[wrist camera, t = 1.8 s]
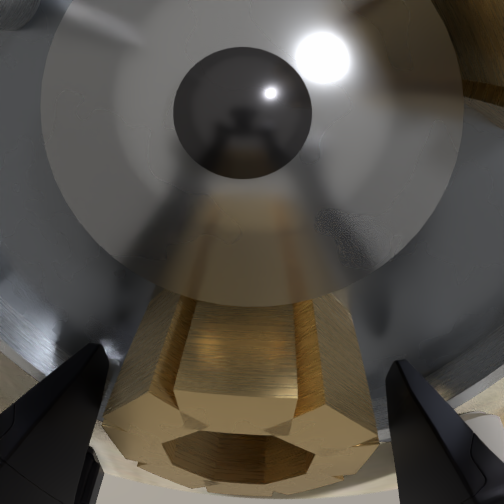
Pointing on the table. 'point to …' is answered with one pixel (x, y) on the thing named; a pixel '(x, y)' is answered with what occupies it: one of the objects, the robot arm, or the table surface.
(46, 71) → the domed metal knob cap
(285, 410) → the hollow octagonal wooden tube
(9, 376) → the table surface
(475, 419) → the can
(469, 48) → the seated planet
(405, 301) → the tray
